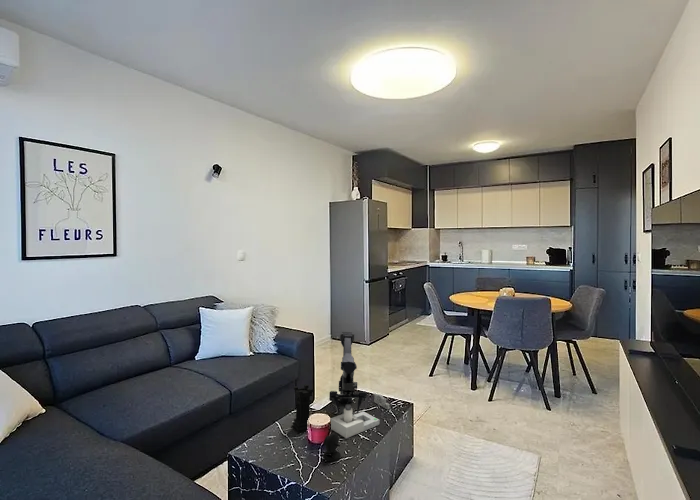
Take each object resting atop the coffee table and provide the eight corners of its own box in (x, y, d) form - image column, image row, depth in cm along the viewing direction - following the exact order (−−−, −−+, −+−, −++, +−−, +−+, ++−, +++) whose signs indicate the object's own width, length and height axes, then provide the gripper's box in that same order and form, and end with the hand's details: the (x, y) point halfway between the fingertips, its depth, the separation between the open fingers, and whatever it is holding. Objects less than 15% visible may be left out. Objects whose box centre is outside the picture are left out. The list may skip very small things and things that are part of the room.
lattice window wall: (389, 409, 213) (390, 398, 213) (387, 410, 212) (387, 399, 212) (375, 401, 223) (376, 391, 222) (373, 402, 222) (373, 392, 221)
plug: (341, 429, 189) (342, 404, 189) (347, 426, 192) (348, 402, 191) (347, 432, 186) (347, 407, 185) (353, 429, 188) (354, 405, 188)
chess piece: (297, 434, 182) (299, 392, 182) (291, 427, 189) (292, 386, 189) (313, 430, 187) (314, 389, 186) (306, 423, 193) (307, 384, 193)
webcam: (330, 450, 170) (330, 427, 169) (344, 455, 166) (345, 432, 165) (319, 458, 163) (319, 434, 163) (333, 464, 159) (334, 440, 159)
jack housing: (330, 428, 189) (330, 418, 189) (363, 416, 204) (363, 406, 204) (346, 438, 180) (346, 427, 180) (379, 424, 195) (379, 414, 195)
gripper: (330, 375, 193) (329, 406, 182) (367, 375, 194) (368, 407, 183) (329, 385, 201) (328, 415, 190) (365, 385, 202) (366, 416, 191)
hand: (348, 413), depth 188 cm, fingers open, 9 cm apart
